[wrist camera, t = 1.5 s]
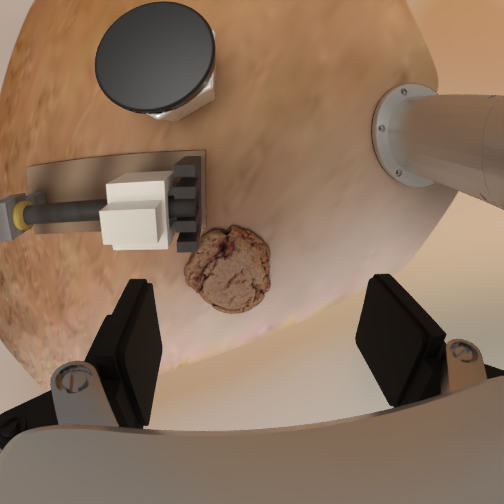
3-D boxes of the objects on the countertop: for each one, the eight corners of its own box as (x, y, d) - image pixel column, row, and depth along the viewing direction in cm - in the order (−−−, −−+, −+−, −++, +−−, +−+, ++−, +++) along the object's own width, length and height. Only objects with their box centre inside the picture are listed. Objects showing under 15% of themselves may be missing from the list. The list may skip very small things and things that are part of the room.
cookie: (221, 319, 38) (221, 334, 35) (168, 255, 34) (164, 266, 31) (290, 280, 37) (295, 292, 34) (242, 207, 33) (244, 214, 30)
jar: (120, 96, 26) (68, 84, 15) (161, 31, 24) (132, -15, 13) (193, 133, 29) (177, 137, 18) (236, 67, 27) (245, 32, 16)
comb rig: (205, 149, 30) (199, 158, 21) (206, 225, 33) (201, 261, 24) (31, 165, 28) (-18, 182, 19) (39, 230, 31) (-3, 262, 22)
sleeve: (174, 170, 25) (157, 187, 18) (177, 227, 27) (163, 262, 21) (125, 173, 25) (93, 191, 18) (130, 228, 27) (103, 263, 20)
